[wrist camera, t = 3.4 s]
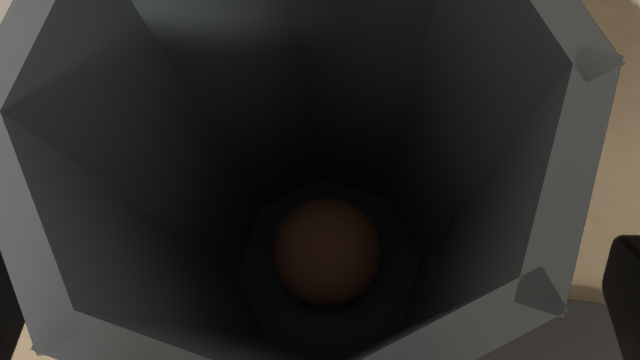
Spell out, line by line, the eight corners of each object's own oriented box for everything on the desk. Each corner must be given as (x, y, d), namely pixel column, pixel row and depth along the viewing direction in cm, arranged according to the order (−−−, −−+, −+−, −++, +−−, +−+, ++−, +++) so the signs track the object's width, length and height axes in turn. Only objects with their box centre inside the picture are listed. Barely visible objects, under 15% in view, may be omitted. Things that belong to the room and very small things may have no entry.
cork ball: (389, 236, 18) (397, 199, 15) (361, 330, 16) (363, 307, 14) (297, 208, 18) (289, 168, 15) (264, 298, 17) (249, 270, 14)
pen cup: (448, 210, 18) (660, -92, 6) (393, 399, 17) (516, 534, 4) (271, 155, 19) (123, -218, 7) (205, 333, 18) (-141, 289, 5)
